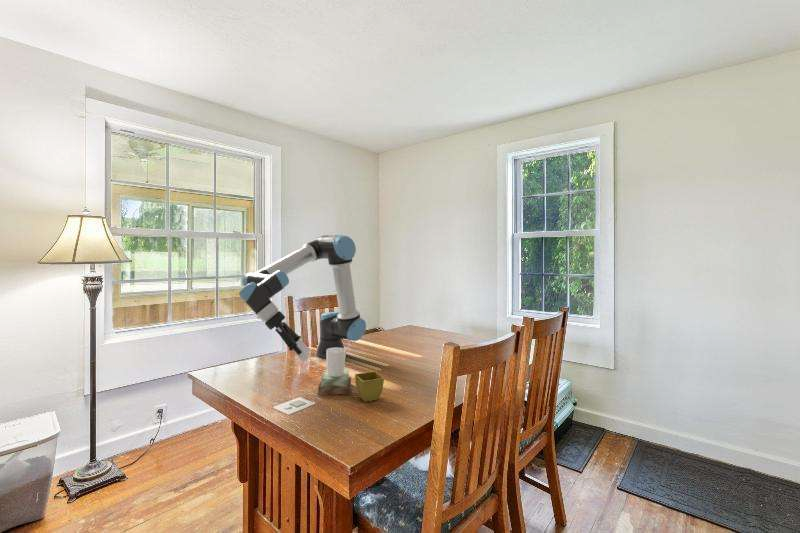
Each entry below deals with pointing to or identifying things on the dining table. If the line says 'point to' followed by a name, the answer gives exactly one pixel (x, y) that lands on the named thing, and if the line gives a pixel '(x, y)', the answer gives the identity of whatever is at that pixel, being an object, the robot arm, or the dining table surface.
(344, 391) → the tower base
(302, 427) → the dining table surface
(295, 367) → the dining table surface
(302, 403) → the page
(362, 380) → the flower pot
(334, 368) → the white cup
